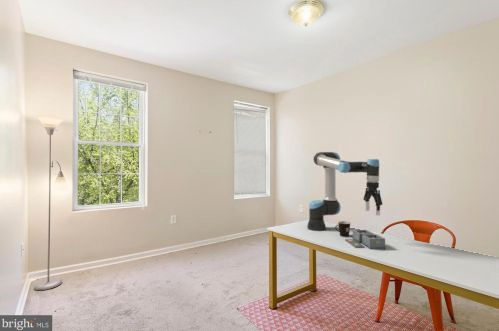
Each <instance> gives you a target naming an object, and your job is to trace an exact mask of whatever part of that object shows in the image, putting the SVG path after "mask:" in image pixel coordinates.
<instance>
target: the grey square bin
mask: <svg viewBox="0 0 499 331" xmlns="http://www.w3.org/2000/svg"><path fill="white" fill-rule="evenodd" d="M367 234H375V233H373V232H372V231H370V230H368V229H353V230H352V239H354V240H355V241H357V242H359V243H360V244H362V235H367Z"/></svg>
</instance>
